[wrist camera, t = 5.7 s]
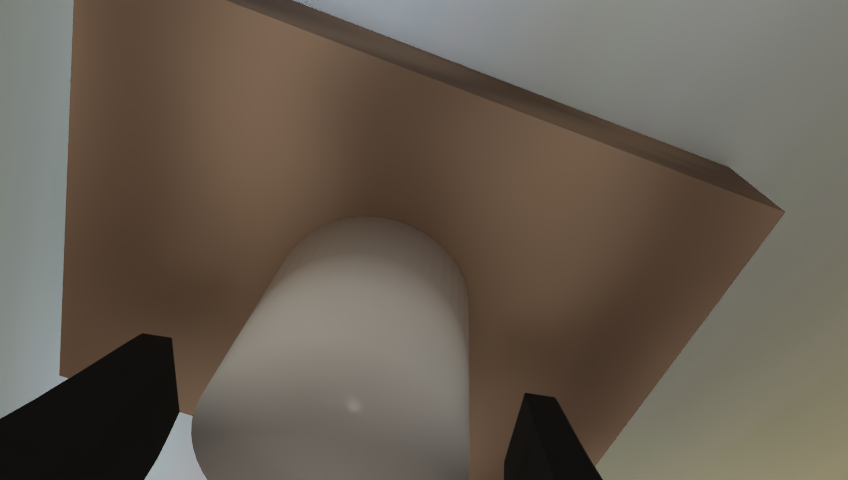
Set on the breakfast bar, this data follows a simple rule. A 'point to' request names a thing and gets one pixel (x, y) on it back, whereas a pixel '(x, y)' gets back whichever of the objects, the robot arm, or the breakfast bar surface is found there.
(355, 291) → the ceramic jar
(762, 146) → the breakfast bar surface
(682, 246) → the walnut block
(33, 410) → the robot arm
